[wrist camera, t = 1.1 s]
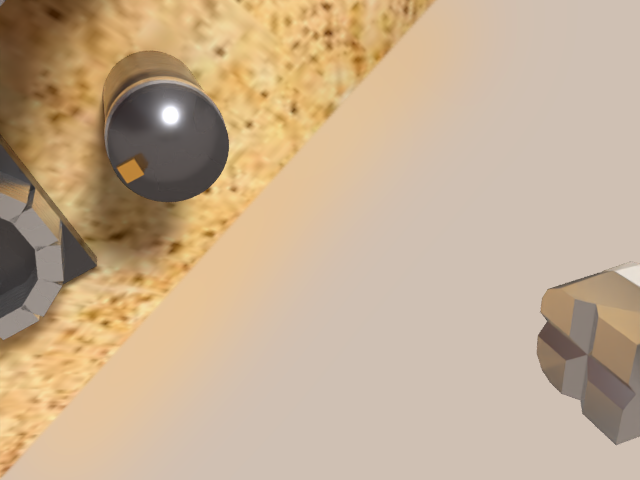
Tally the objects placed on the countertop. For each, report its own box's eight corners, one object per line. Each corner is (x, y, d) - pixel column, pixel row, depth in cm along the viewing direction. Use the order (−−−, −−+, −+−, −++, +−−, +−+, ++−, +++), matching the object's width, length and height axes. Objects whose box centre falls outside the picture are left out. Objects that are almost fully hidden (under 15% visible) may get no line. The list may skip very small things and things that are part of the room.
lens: (171, 30, 31) (195, 64, 24) (218, 117, 34) (252, 170, 27) (80, 78, 31) (78, 126, 24) (135, 162, 34) (148, 226, 27)
